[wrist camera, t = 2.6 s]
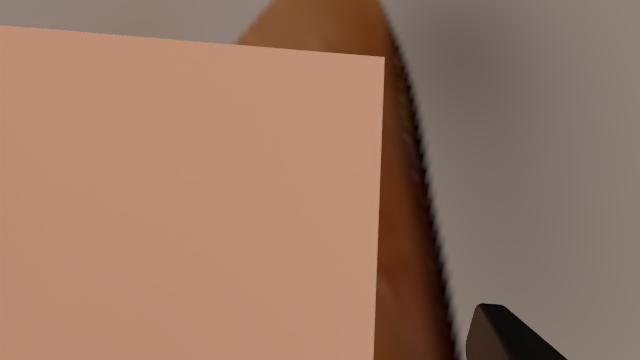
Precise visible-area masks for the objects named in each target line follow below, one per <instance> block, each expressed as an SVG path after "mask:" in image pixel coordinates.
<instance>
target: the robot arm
mask: <svg viewBox="0 0 640 360" xmlns="http://www.w3.org/2000/svg"><path fill="white" fill-rule="evenodd" d="M466 358H467V360H567V359H566V358H565V357H564V356H563V355H561V354H560V353H559V352H558V351H557V350H556V349H555V348H553V347H552V346H551V345H550V344H549V343H547V342H546V341H545V340H544V339H542V338H541V337H540V336H539V335H538V334H537V333H536V332H534V331H533V330H532V329H531V328H530V327H529V326H527V325H526V324H525V323H524V322H523V321H521V320H520V319H519V318H518V317H517V316H516V315H514V314H513V313H512V312H511V311H510V310H509V309H507V308H506V307H505V306H503V305H497V304H485V303H481V304H479V305H477V307H476V308H475V311H474V315H473V318H472V322H471V325H470V329H469V333H468V336H467V340H466Z"/></svg>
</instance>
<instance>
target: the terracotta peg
mask: <svg viewBox="0 0 640 360" xmlns="http://www.w3.org/2000/svg"><path fill="white" fill-rule="evenodd" d="M384 60H385V57H375V56H363V55H351V54H339V53H327V52H315V51H303V50H291V49H279V48H267V47H255V46H243V45H231V44H220V43H208V42H196V41H182V40H172V39H159V38H147V37H134V36H123V35H112V34H100V33H88V32H76V31H64V30H52V29H40V28H29V27H17V26H5V25H0V360H373V353H374V326H375V299H376V273H377V246H378V220H379V193H380V166H381V140H382V113H383V86H384Z"/></svg>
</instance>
